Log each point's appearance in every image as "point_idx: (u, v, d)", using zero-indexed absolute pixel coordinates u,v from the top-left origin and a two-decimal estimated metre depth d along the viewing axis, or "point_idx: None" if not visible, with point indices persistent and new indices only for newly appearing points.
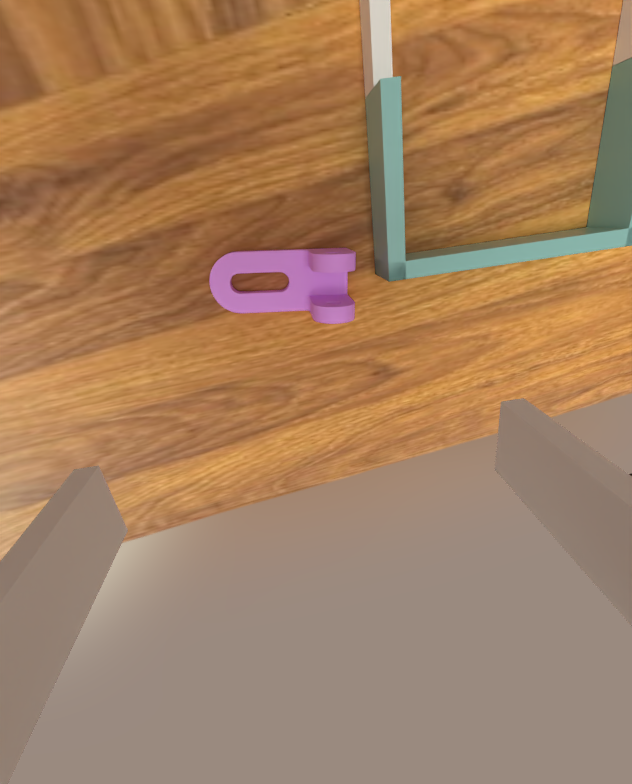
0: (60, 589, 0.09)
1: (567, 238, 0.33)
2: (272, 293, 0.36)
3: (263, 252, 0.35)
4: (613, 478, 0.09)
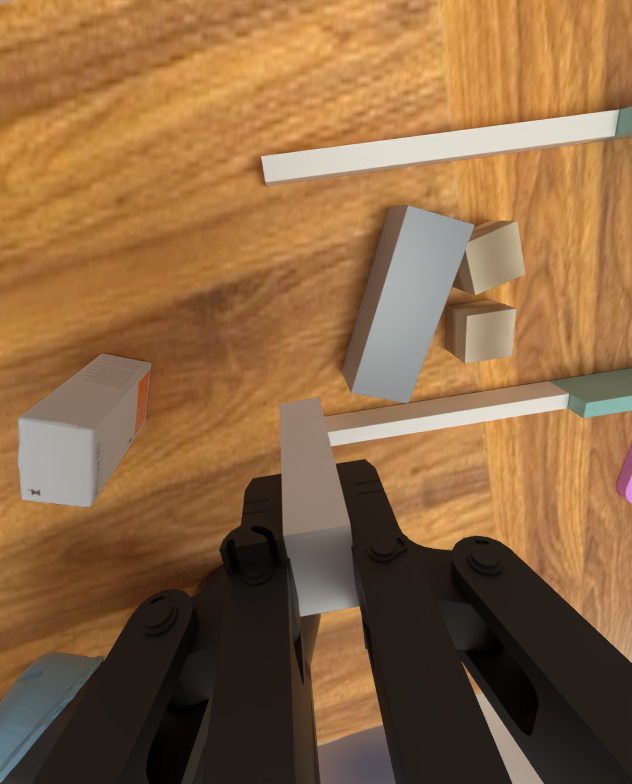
0: None
1: None
2: None
3: None
4: (319, 462, 0.10)
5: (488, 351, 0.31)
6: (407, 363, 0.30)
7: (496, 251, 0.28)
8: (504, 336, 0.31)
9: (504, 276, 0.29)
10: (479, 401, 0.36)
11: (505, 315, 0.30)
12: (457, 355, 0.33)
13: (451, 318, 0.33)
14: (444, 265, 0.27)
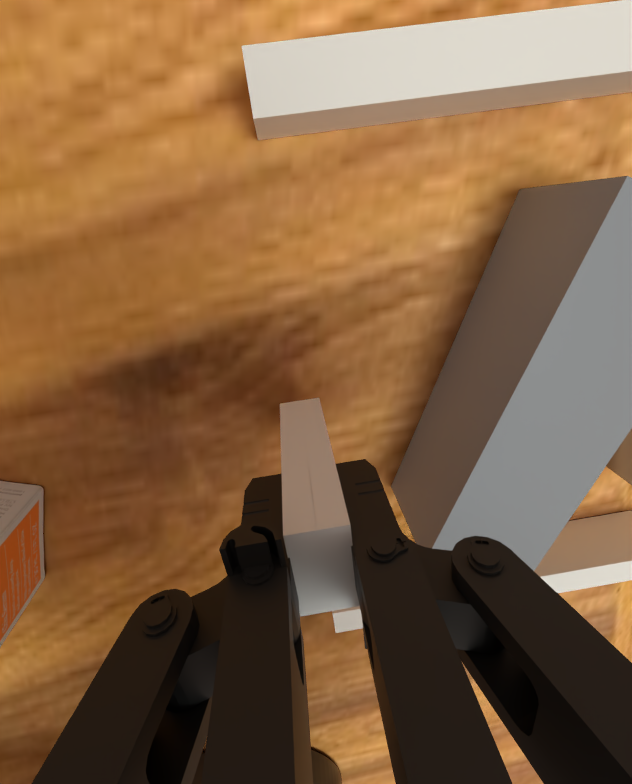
0: None
1: None
2: None
3: None
4: (319, 462, 0.10)
5: None
6: (544, 512, 0.15)
7: None
8: None
9: None
10: None
11: None
12: (622, 473, 0.17)
13: None
14: None
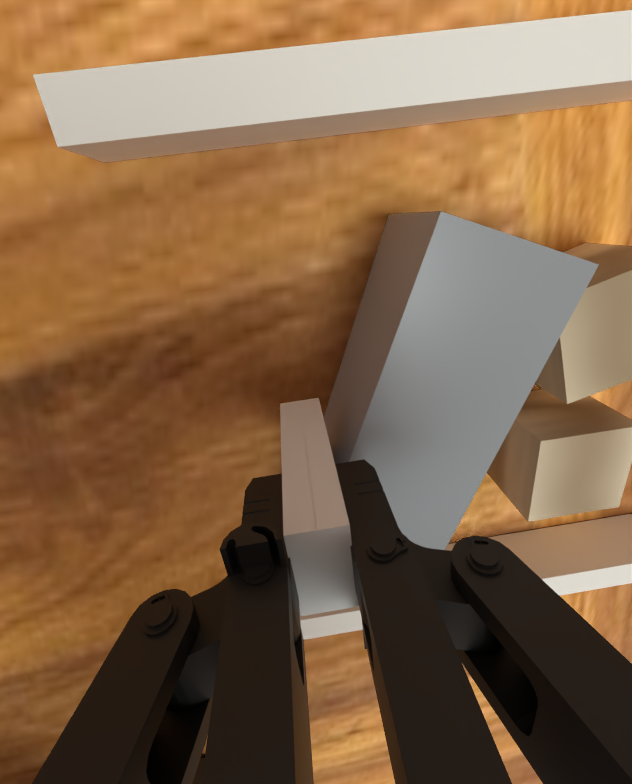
0: None
1: None
2: None
3: None
4: (319, 462, 0.10)
5: (576, 501, 0.16)
6: (419, 539, 0.14)
7: (624, 315, 0.12)
8: (610, 474, 0.15)
9: None
10: (540, 557, 0.20)
11: (618, 438, 0.15)
12: (509, 495, 0.17)
13: None
14: (516, 354, 0.12)
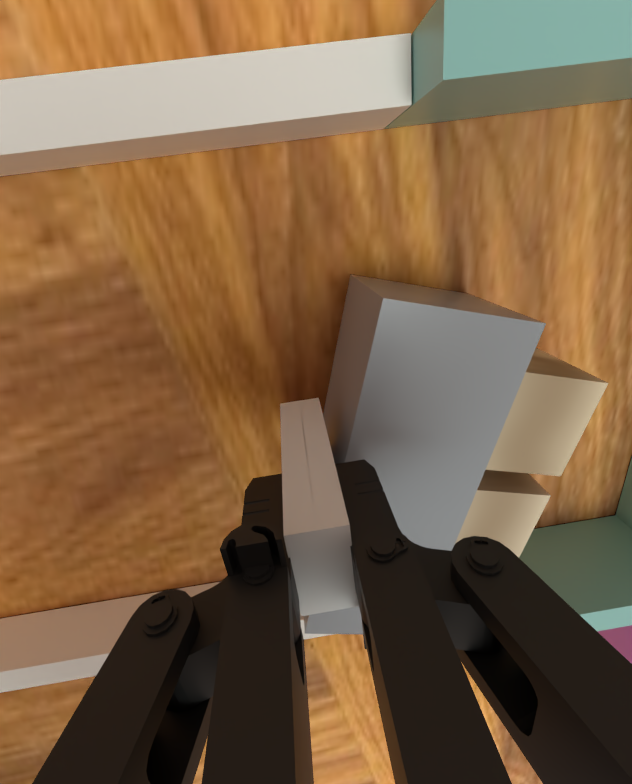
0: None
1: None
2: None
3: None
4: (319, 462, 0.10)
5: None
6: None
7: (545, 414, 0.14)
8: (513, 535, 0.16)
9: (529, 462, 0.14)
10: None
11: (527, 502, 0.15)
12: None
13: None
14: (477, 410, 0.12)
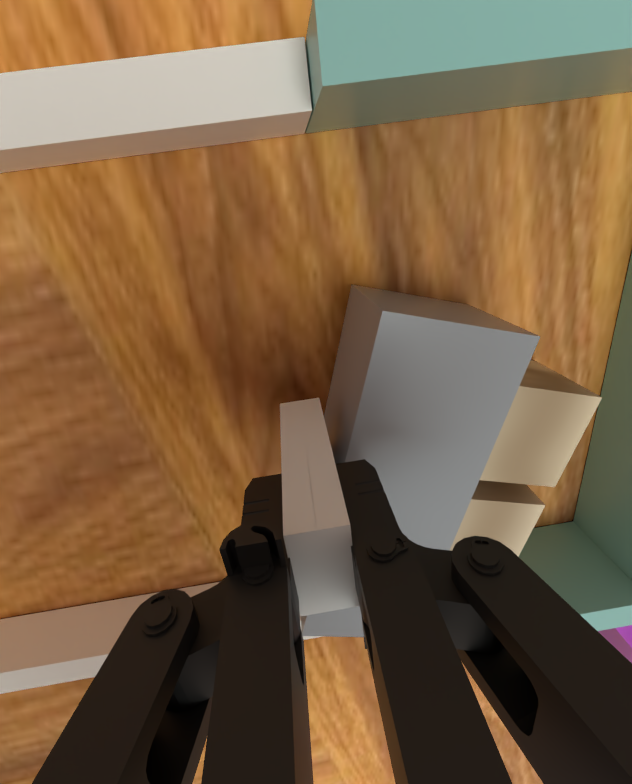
0: None
1: None
2: None
3: None
4: (319, 462, 0.10)
5: None
6: None
7: (540, 426, 0.14)
8: (508, 543, 0.16)
9: (524, 473, 0.15)
10: None
11: (523, 511, 0.16)
12: None
13: None
14: (473, 420, 0.12)
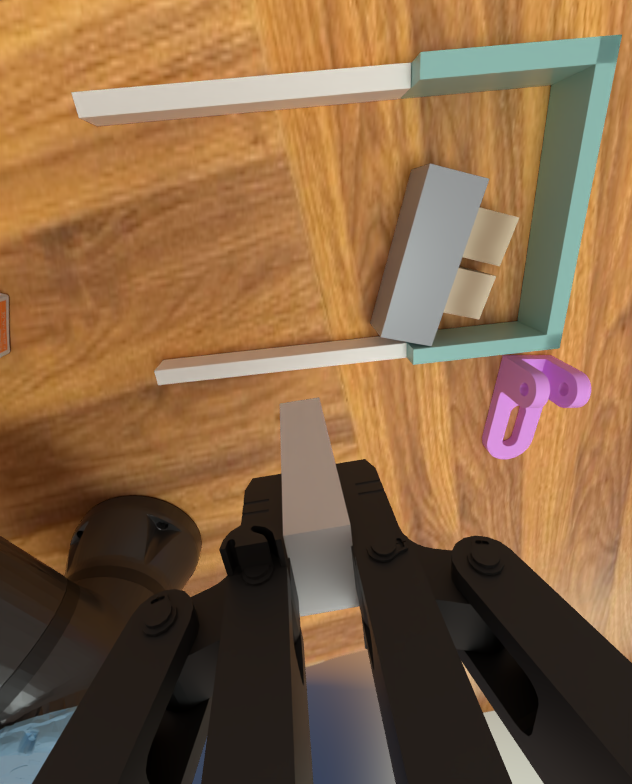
0: None
1: (580, 155, 0.29)
2: (525, 417, 0.44)
3: (493, 422, 0.44)
4: (320, 462, 0.10)
5: (462, 308, 0.35)
6: (430, 309, 0.34)
7: (492, 230, 0.32)
8: (479, 298, 0.35)
9: (485, 256, 0.33)
10: (325, 347, 0.38)
11: (485, 279, 0.34)
12: None
13: None
14: (462, 217, 0.31)
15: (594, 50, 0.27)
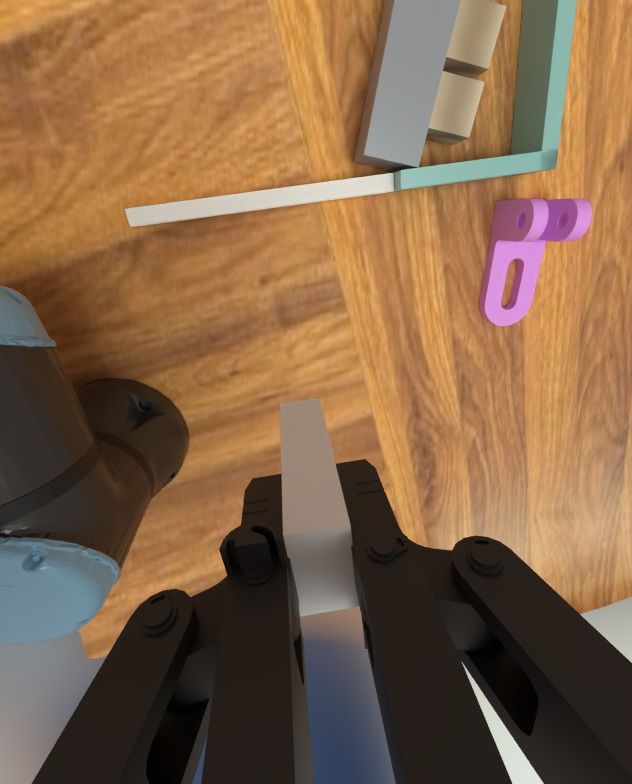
0: None
1: None
2: (523, 274, 0.42)
3: (490, 280, 0.42)
4: (320, 462, 0.10)
5: (450, 123, 0.33)
6: (415, 119, 0.32)
7: (478, 23, 0.30)
8: (467, 110, 0.33)
9: (472, 56, 0.31)
10: None
11: (473, 85, 0.32)
12: None
13: None
14: (446, 0, 0.29)
15: None
